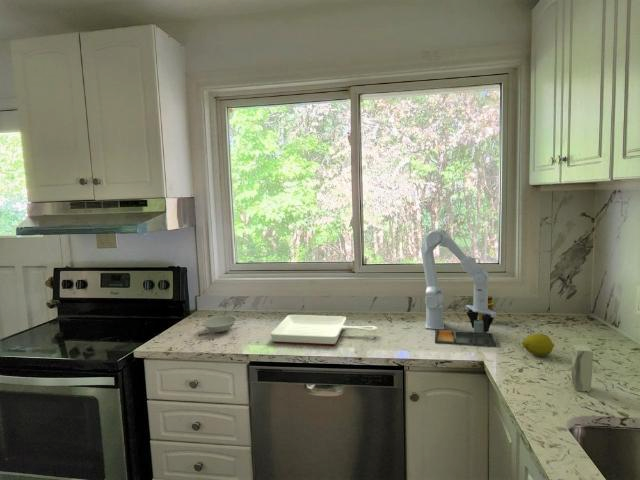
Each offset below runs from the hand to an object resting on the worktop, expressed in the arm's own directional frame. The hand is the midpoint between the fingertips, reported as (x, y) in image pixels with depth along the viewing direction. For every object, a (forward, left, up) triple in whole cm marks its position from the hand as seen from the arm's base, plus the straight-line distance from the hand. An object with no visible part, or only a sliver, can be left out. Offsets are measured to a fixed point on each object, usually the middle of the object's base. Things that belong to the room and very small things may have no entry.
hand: (480, 329), depth 180 cm
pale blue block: (0, 0, -1) cm, 1 cm away
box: (+47, +25, -2) cm, 53 cm away
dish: (+20, -113, -2) cm, 115 cm away
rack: (+11, -7, -1) cm, 13 cm away
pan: (+15, -64, -2) cm, 66 cm away
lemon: (+22, +18, -2) cm, 29 cm away
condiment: (-16, +3, -2) cm, 16 cm away
